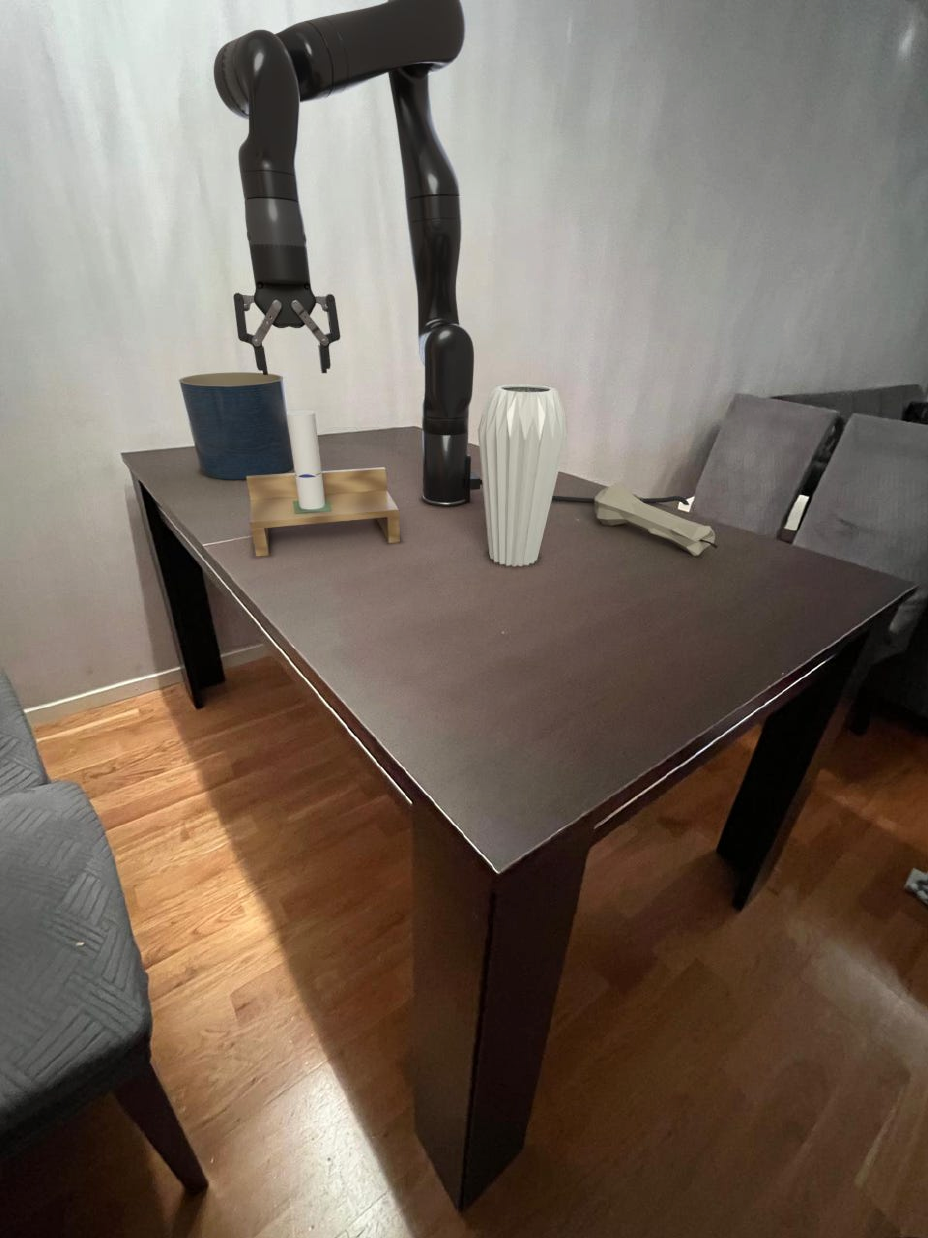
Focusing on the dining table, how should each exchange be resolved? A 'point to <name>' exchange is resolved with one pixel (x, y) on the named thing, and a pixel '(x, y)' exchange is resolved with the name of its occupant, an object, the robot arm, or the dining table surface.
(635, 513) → the faceted club
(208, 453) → the planter
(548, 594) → the dining table surface
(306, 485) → the tube
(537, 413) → the vase
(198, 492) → the dining table surface
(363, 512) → the shelf
